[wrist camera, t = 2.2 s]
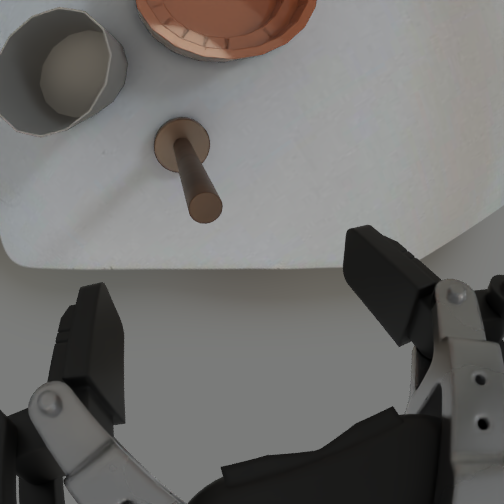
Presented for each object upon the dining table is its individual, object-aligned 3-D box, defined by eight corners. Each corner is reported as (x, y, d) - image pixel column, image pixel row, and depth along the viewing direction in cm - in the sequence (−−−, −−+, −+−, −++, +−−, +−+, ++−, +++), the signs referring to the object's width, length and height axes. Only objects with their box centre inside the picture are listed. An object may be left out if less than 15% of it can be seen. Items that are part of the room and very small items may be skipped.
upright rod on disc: (146, 159, 27) (138, 240, 14) (166, 109, 26) (174, 140, 13) (195, 175, 30) (232, 264, 17) (215, 127, 28) (274, 177, 15)
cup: (32, 55, 19) (-20, 50, 10) (113, 16, 19) (92, -15, 11) (58, 132, 23) (16, 159, 15) (138, 96, 24) (127, 102, 16)
